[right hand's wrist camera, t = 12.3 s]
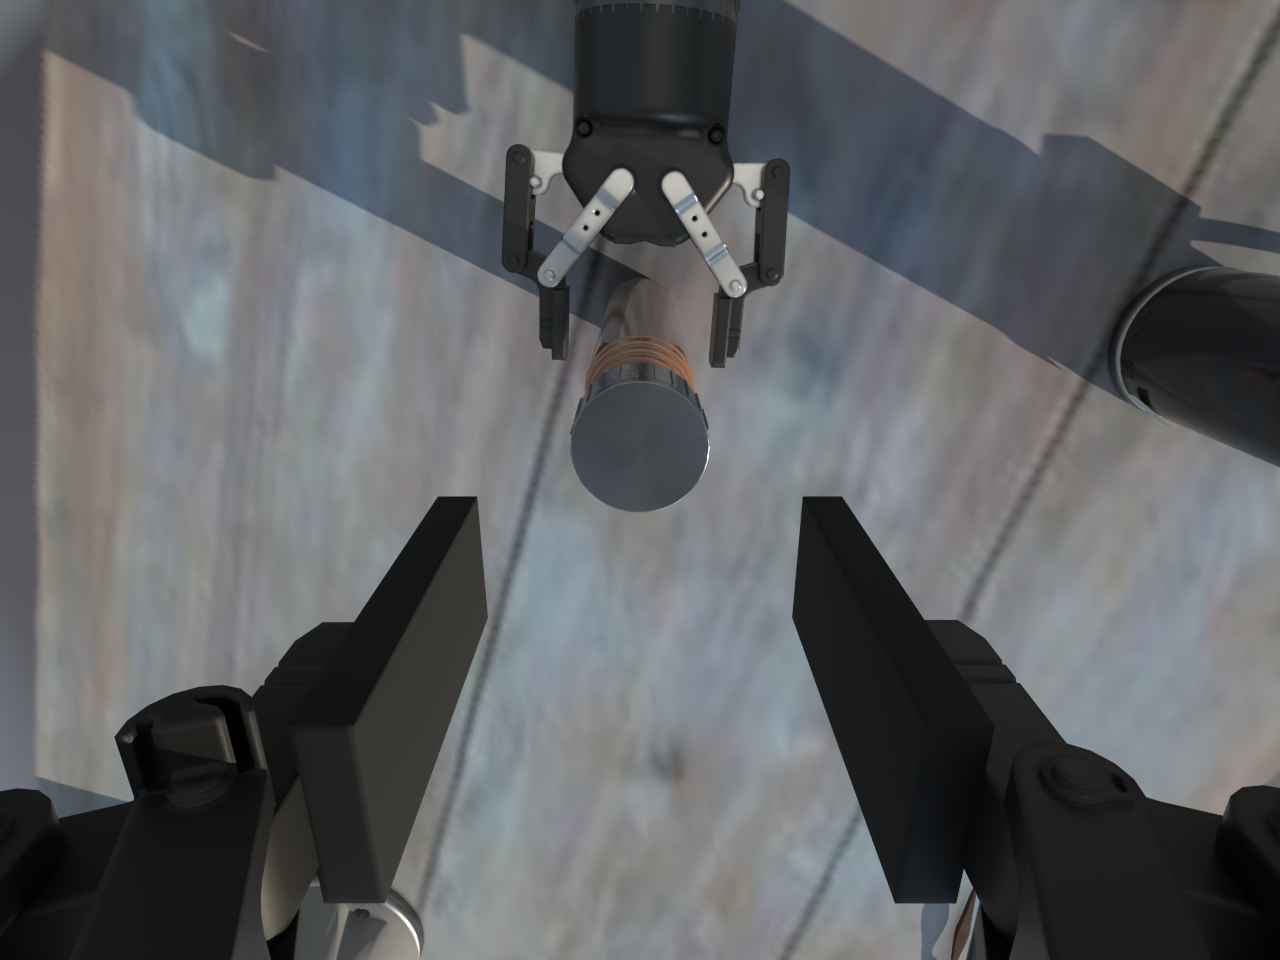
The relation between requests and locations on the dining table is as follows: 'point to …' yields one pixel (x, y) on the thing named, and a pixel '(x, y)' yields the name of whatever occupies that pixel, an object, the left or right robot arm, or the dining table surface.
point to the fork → (963, 927)
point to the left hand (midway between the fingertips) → (638, 361)
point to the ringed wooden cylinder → (639, 331)
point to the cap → (640, 438)
